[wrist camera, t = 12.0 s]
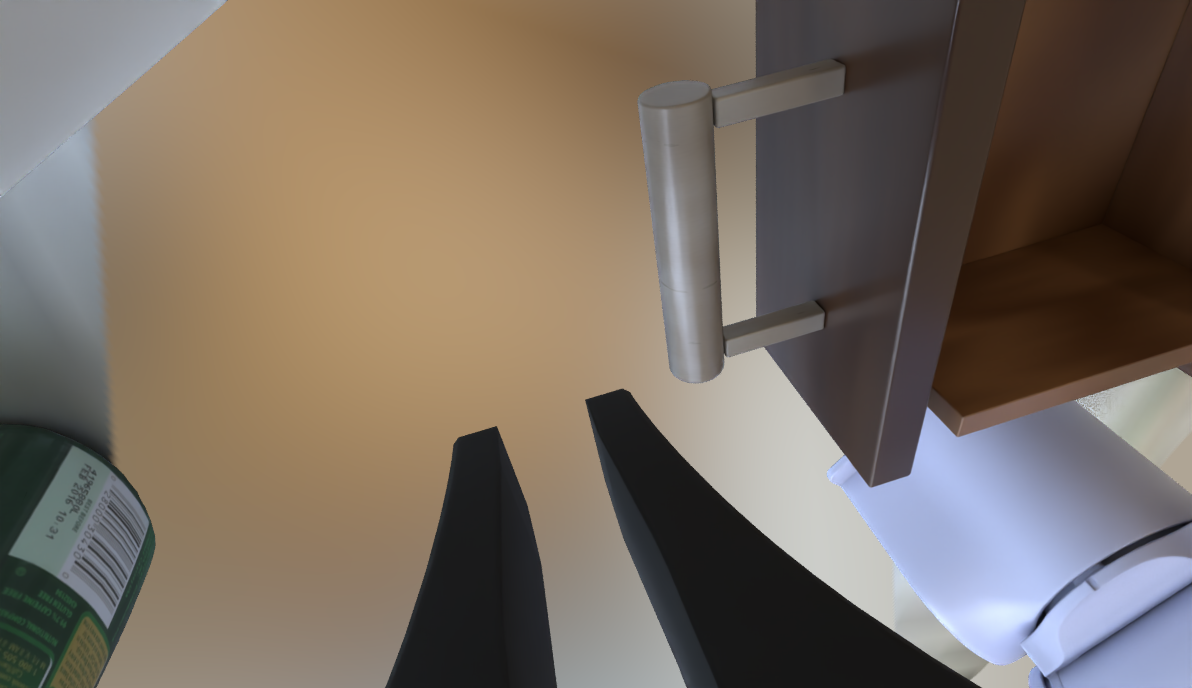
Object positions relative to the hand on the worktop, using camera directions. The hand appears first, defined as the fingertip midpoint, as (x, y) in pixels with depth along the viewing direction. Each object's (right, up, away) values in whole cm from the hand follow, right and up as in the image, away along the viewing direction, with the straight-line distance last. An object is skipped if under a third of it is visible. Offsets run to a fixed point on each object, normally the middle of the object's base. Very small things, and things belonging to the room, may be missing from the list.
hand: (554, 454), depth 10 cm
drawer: (+9, +8, +8) cm, 14 cm away
